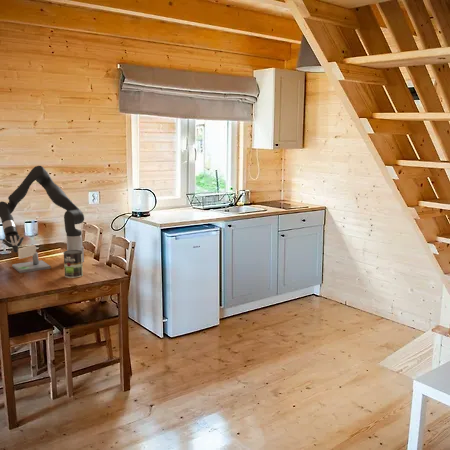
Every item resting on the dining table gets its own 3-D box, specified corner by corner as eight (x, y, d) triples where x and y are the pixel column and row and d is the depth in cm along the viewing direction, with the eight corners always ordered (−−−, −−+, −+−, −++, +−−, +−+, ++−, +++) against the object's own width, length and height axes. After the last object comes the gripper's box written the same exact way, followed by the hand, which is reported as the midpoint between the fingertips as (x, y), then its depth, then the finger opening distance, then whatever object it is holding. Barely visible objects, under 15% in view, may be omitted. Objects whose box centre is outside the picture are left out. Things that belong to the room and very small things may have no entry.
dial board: (42, 262, 324) (42, 260, 323) (50, 268, 309) (50, 265, 309) (12, 266, 313) (12, 264, 313) (19, 272, 299) (19, 270, 299)
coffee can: (77, 278, 287) (76, 254, 285) (61, 277, 290) (59, 253, 287) (86, 273, 297) (85, 250, 295) (70, 272, 300) (69, 249, 297)
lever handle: (35, 262, 316) (34, 244, 314) (39, 263, 314) (38, 244, 312) (18, 267, 304) (16, 248, 302) (22, 268, 302) (20, 249, 300)
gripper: (20, 231, 327) (26, 253, 320) (-2, 233, 320) (4, 256, 312) (21, 224, 322) (28, 246, 315) (-1, 226, 315) (5, 249, 307)
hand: (16, 251), depth 313 cm, fingers closed
